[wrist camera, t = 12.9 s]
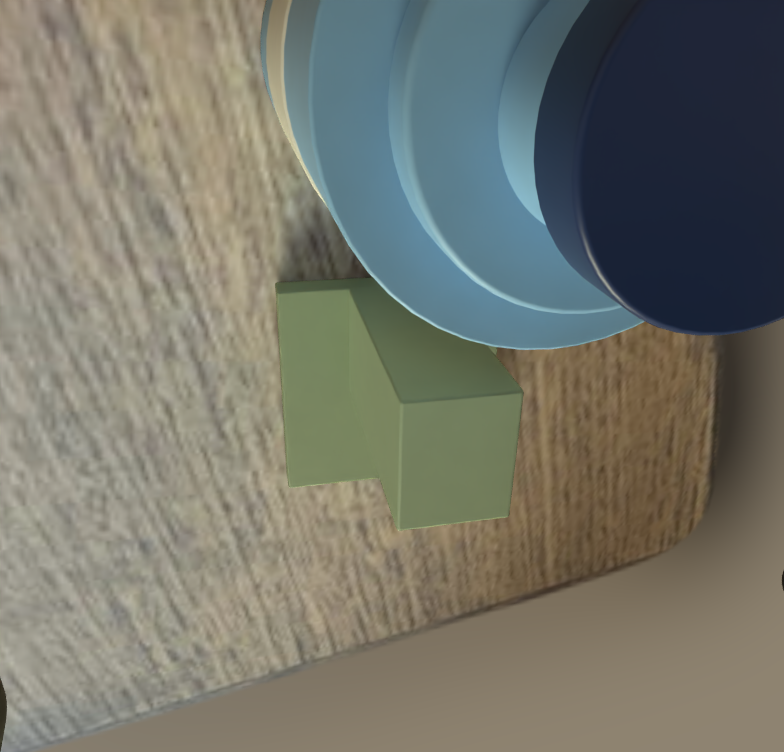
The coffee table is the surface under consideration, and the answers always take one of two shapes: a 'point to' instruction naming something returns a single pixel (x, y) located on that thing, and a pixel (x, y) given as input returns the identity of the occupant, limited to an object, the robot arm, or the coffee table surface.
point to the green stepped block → (394, 404)
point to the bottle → (546, 157)
